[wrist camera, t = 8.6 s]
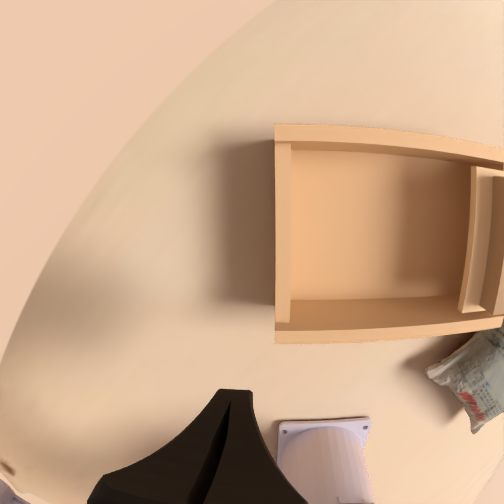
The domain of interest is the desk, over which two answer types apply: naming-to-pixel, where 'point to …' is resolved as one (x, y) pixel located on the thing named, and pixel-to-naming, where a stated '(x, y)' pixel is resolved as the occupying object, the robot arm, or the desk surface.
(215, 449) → the robot arm
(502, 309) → the lid
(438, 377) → the packaged food
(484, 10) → the desk surface
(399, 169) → the light brown rectangular box
